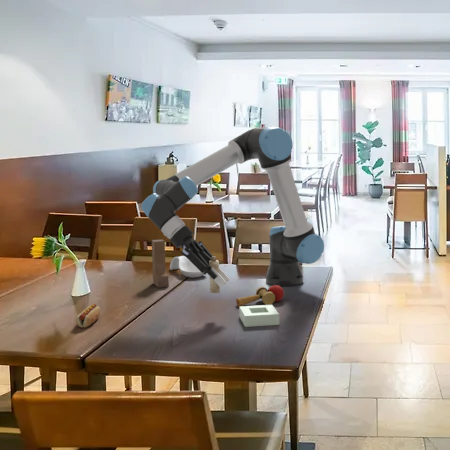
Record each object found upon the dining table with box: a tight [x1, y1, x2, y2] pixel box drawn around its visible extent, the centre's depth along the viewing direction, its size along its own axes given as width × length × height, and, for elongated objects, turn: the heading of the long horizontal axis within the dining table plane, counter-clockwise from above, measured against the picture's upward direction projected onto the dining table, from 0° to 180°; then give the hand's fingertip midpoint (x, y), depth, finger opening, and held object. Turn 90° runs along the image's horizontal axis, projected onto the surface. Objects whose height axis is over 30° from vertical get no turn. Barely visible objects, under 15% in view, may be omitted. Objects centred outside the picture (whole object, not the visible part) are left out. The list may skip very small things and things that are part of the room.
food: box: [75, 303, 101, 329], centre depth 201 cm, size 14×6×5 cm, turn 174°
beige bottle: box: [209, 255, 221, 294], centre depth 205 cm, size 3×3×12 cm
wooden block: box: [151, 239, 170, 289], centre depth 249 cm, size 9×4×18 cm, turn 19°
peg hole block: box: [238, 304, 280, 328], centre depth 202 cm, size 11×16×4 cm
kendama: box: [235, 285, 285, 307], centre depth 220 cm, size 8×6×18 cm
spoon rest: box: [169, 255, 205, 279], centre depth 269 cm, size 24×12×7 cm, turn 34°
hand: (225, 283), depth 204 cm, fingers closed on beige bottle, 3 cm apart
